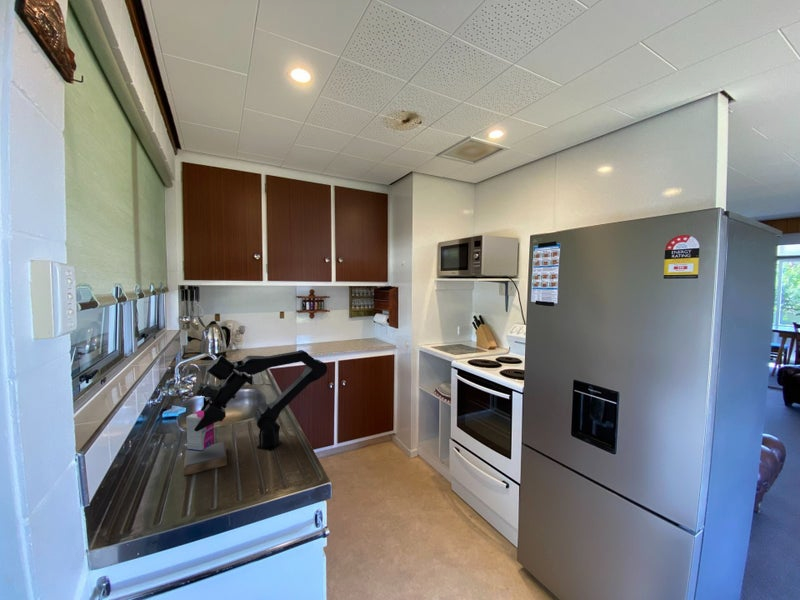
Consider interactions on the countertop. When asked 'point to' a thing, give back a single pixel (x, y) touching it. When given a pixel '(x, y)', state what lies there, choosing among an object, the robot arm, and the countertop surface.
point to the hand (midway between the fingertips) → (195, 426)
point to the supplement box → (198, 433)
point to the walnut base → (205, 459)
